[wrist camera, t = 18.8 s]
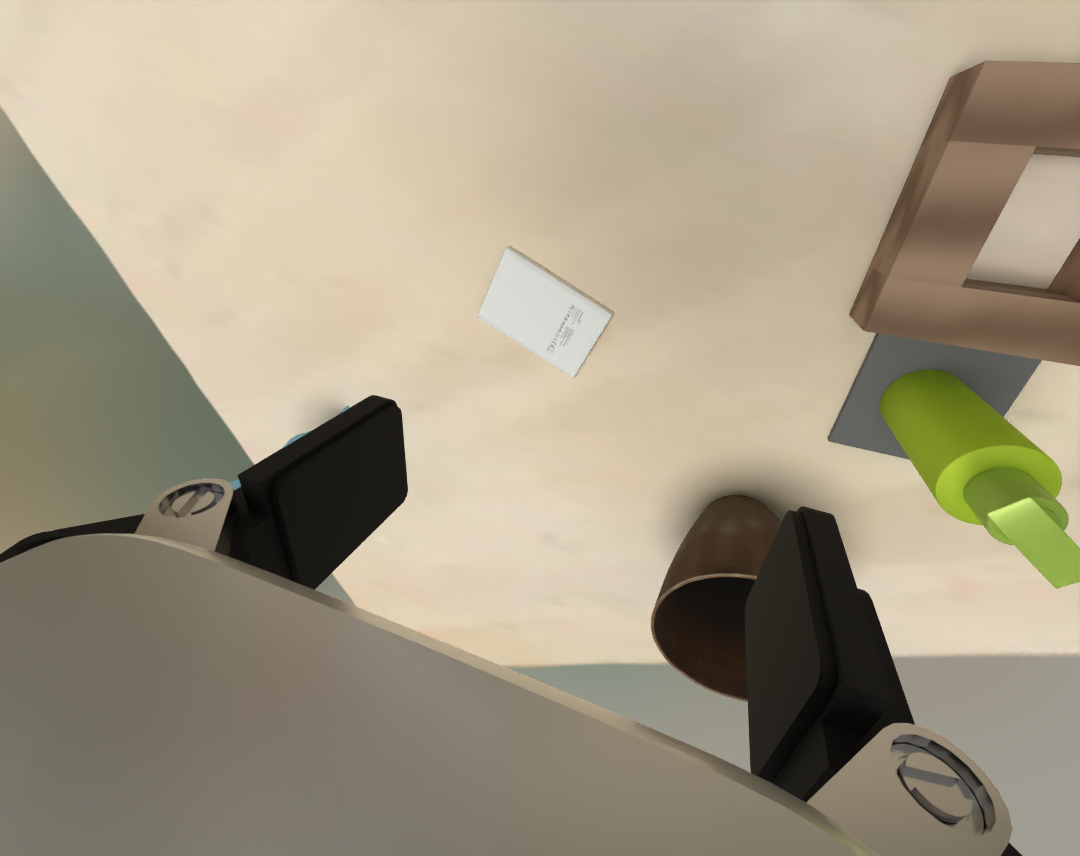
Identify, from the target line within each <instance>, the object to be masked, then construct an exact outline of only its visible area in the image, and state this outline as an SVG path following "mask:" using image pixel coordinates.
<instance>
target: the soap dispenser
mask: <svg viewBox="0 0 1080 856" xmlns="http://www.w3.org/2000/svg"><path fill="white" fill-rule="evenodd" d="M880 412H881V415H882V417H883V419H884V420H885V422H886V424H887V425H888V427H889V428H890V430H891V431H892V433H893V434H894V436H895V437H896V439H897V440H898V442H899V443H900V445H901V447H902V448H903V450H904V451H905V453H906V454H907V456H908V457H909V459H910V460H911V462H912V463H913V465H914V466H915V468H916V470H917V471H918V473H919V474H920V476H921V477H922V479H923V480H924V482H925V483H926V485H927V486H928V488H929V489H930V491H931V493H932V494H933V496H934V497H935V499H936V500H937V502H938V503H939V505H940V506H941V507H942V508H943V510H945V511H946V512H947V513H948V514H950V515H951V516H953V517H955V518H957V519H959V520H961V521H964V522H967V523H972V524H977V525H983V526H984V527H985V528H986V530H987V531H988V532H989V534H990V535H991V536H993V537H994V538H995V539H997V540H998V541H1000V542H1003V543H1005V544H1009V545H1014V546H1016V547H1017V549H1018V550H1019V551H1020V552H1021V553H1022V554H1023V555H1024V556H1025V557H1026V558H1027V559H1028V560H1029V561H1030V562H1031V563H1032V564H1033V565H1034V566H1035V567H1036V568H1037V569H1038V570H1039V572H1040V573H1041V574H1042V575H1043V576H1044V577H1045V578H1046V579H1047V580H1048V581H1049V582H1050V583H1051V584H1052V585H1053V586H1054V587H1055V588H1060V587H1063V586H1067V585H1070V584H1073V583H1077V582H1080V548H1079V547H1078V546H1077V545H1076V544H1075V543H1074V542H1073V541H1072V539H1071V538H1070V537H1069V536H1068V535H1067V534H1066V533H1065V532H1064V530H1065V529H1066V527H1067V525H1068V521H1069V518H1068V514H1067V512H1066V510H1065V508H1064V507H1063V506H1062V505H1061V504H1060V503H1059V502H1058V501H1057V500H1056V499H1055V498H1056V497H1057V495H1058V494H1059V491H1060V489H1061V485H1062V476H1061V472H1060V470H1059V468H1058V466H1057V465H1056V463H1055V462H1054V461H1053V460H1052V459H1051V458H1050V457H1049V456H1047V455H1046V454H1045V453H1044V452H1043V451H1042V450H1040V449H1039V448H1038V447H1037V446H1036V445H1035V444H1033V443H1032V442H1031V441H1030V440H1029V439H1028V438H1027V437H1025V436H1024V435H1023V434H1022V433H1021V432H1020V431H1018V430H1017V429H1016V428H1015V427H1014V426H1013V425H1011V424H1010V423H1009V422H1008V421H1007V420H1006V419H1004V418H1003V417H1002V416H1001V415H1000V414H999V413H997V412H996V411H995V410H994V409H993V408H992V407H991V406H989V405H988V404H987V403H986V402H985V401H984V400H982V399H981V398H980V397H979V396H978V395H977V394H975V393H974V392H973V391H972V390H971V389H970V388H968V387H967V386H966V385H965V384H964V383H963V382H961V381H960V380H959V379H958V378H957V377H955V376H954V375H952V374H950V373H947V372H944V371H940V370H920V371H915V372H911V373H909V374H906V375H904V376H902V377H900V378H898V379H897V380H895V381H894V382H893V383H892V384H890V385H889V386H888V388H887V389H886V390H885V391H884V393H883V395H882V397H881V400H880Z"/></svg>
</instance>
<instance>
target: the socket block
mask: <svg viewBox="0 0 1080 856" xmlns="http://www.w3.org/2000/svg"><path fill="white" fill-rule="evenodd" d="M1032 154H1045V155H1060V156H1075V157H1080V63H1047V62H1006V61H984V62H982V63H980V64H978V65H976V66H974V67H972V68H969V69H967V70H965V71H963V72H961V73H959V74H957V75H955V76H952V77H950V79H949V82H948V84H947V86H946V89H945V91H944V93H943V96H942V98H941V100H940V103H939V105H938V108H937V110H936V112H935V115H934V117H933V119H932V122H931V124H930V126H929V129H928V131H927V133H926V136H925V138H924V140H923V143H922V145H921V147H920V150H919V152H918V154H917V157H916V159H915V162H914V164H913V166H912V169H911V171H910V173H909V176H908V178H907V180H906V183H905V185H904V187H903V190H902V192H901V194H900V197H899V199H898V201H897V204H896V206H895V208H894V211H893V213H892V216H891V218H890V220H889V223H888V225H887V227H886V230H885V232H884V234H883V237H882V239H881V241H880V244H879V246H878V248H877V251H876V253H875V255H874V258H873V260H872V262H871V265H870V267H869V270H868V272H867V274H866V277H865V279H864V281H863V284H862V286H861V288H860V291H859V293H858V295H857V298H856V300H855V302H854V305H853V307H852V309H851V312H850V314H849V315H850V316H851V317H852V318H853V319H854V321H855V322H856V323H857V324H858V325H859V326H860V327H861V328H862V329H863V330H864V331H868V332H874V333H880V334H886V335H892V336H898V337H905V338H911V339H917V340H923V341H929V342H935V343H941V344H948V345H954V346H960V347H966V348H972V349H978V350H984V351H991V352H997V353H1003V354H1009V355H1015V356H1021V357H1027V358H1034V359H1040V360H1046V361H1052V362H1058V363H1064V364H1071V365H1077V366H1080V239H1079V241H1078V242H1077V244H1076V246H1075V247H1074V249H1073V250H1072V252H1071V254H1070V255H1069V257H1068V258H1067V260H1066V262H1065V263H1064V265H1063V266H1062V268H1061V269H1060V271H1059V273H1058V274H1057V276H1056V277H1055V279H1054V281H1053V282H1052V284H1051V285H1050V287H1049V289H1048V290H1046V289H1039V288H1031V287H1023V286H1016V285H1008V284H1000V283H992V282H985V281H977V280H969V279H966V277H967V275H968V273H969V271H970V270H971V268H972V266H973V264H974V262H975V260H976V258H977V256H978V255H979V253H980V251H981V249H982V247H983V245H984V243H985V242H986V240H987V238H988V236H989V234H990V232H991V230H992V228H993V227H994V225H995V223H996V221H997V219H998V217H999V215H1000V213H1001V212H1002V210H1003V208H1004V206H1005V204H1006V202H1007V200H1008V198H1009V197H1010V195H1011V193H1012V191H1013V189H1014V187H1015V185H1016V183H1017V182H1018V180H1019V178H1020V176H1021V174H1022V172H1023V170H1024V168H1025V167H1026V165H1027V163H1028V161H1029V159H1030V157H1031V155H1032Z"/></svg>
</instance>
